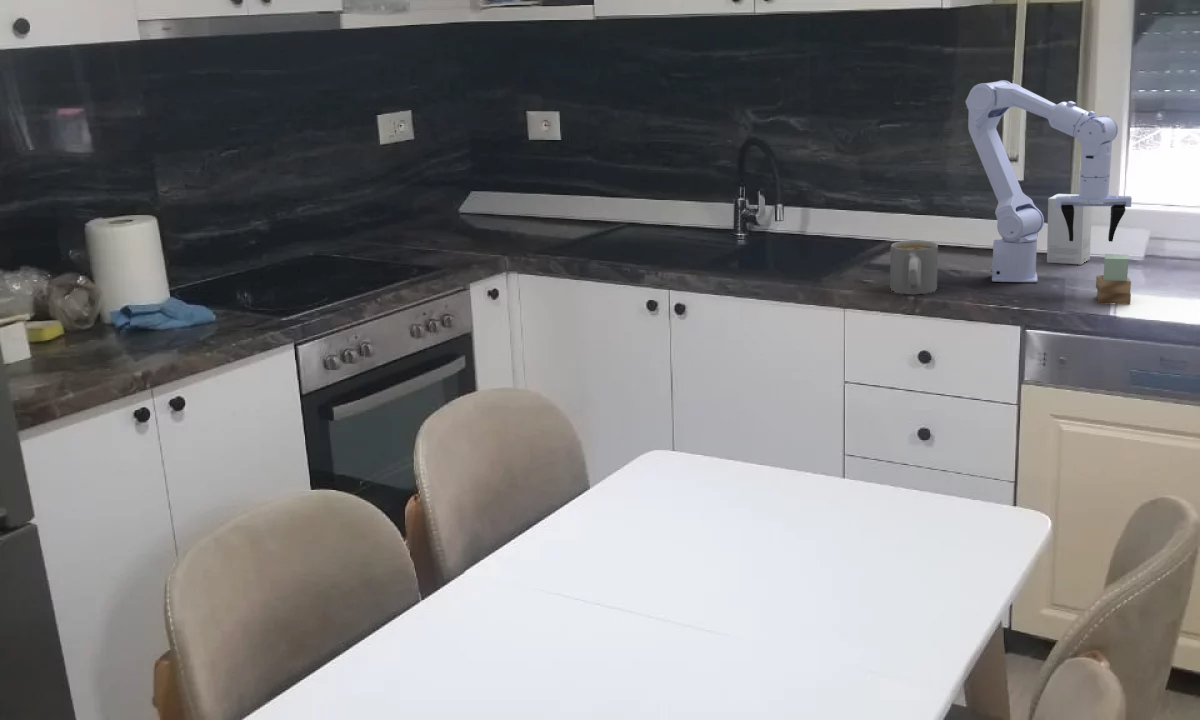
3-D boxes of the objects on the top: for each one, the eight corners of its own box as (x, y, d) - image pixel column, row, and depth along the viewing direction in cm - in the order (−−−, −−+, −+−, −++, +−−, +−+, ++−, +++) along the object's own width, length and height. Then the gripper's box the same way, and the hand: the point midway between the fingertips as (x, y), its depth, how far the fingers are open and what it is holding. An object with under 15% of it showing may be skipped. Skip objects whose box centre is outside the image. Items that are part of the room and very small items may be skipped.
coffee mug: (896, 283, 265) (896, 239, 262) (940, 285, 261) (942, 241, 258) (881, 297, 254) (882, 251, 251) (928, 300, 249) (929, 253, 247)
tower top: (1100, 293, 238) (1101, 281, 238) (1095, 287, 244) (1096, 275, 243) (1130, 293, 237) (1131, 281, 236) (1124, 287, 242) (1125, 275, 242)
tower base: (1097, 305, 239) (1098, 293, 239) (1096, 298, 245) (1097, 286, 244) (1129, 306, 237) (1130, 294, 237) (1128, 299, 243) (1129, 287, 242)
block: (1103, 280, 238) (1104, 258, 237) (1103, 275, 242) (1105, 254, 241) (1126, 281, 237) (1128, 259, 235) (1127, 276, 241) (1128, 254, 239)
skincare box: (1090, 260, 276) (1094, 194, 272) (1080, 266, 271) (1084, 198, 267) (1054, 257, 282) (1058, 192, 277) (1044, 262, 277) (1047, 196, 272)
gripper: (1058, 179, 243) (1054, 243, 247) (1134, 178, 238) (1129, 244, 242) (1056, 174, 249) (1053, 237, 253) (1131, 173, 245) (1126, 237, 249)
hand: (1090, 240), depth 248 cm, fingers open, 7 cm apart
